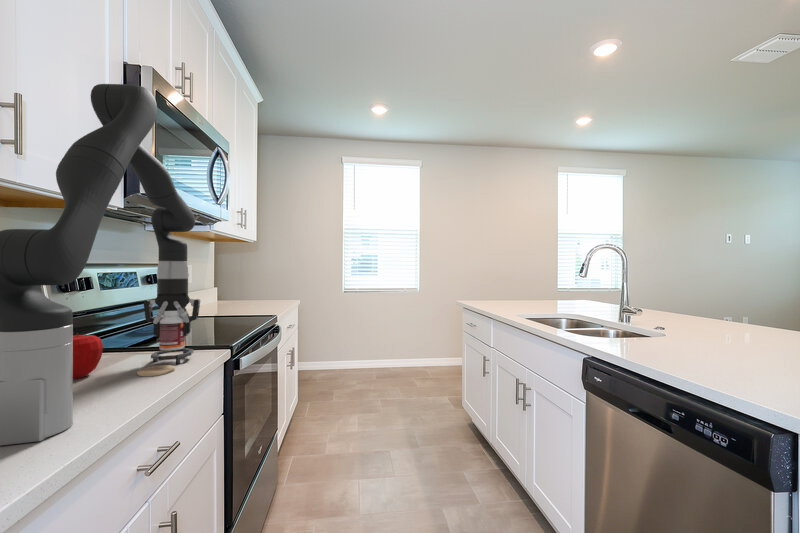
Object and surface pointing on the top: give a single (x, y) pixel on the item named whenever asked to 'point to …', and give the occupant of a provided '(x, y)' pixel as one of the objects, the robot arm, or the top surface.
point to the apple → (86, 354)
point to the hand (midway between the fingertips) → (172, 335)
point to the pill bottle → (171, 331)
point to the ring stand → (185, 351)
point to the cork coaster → (156, 370)
